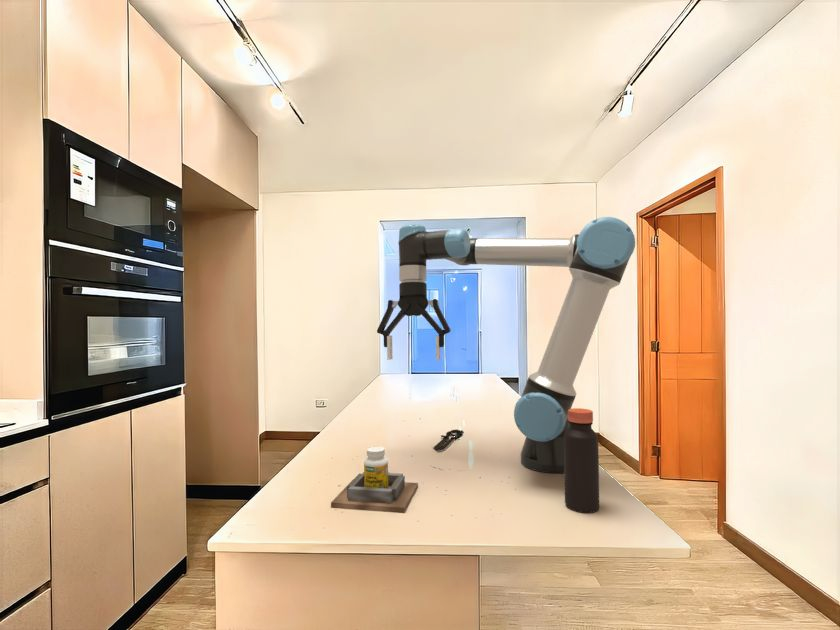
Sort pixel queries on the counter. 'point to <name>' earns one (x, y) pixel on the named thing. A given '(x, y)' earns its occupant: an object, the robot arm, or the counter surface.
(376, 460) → the supplement bottle
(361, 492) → the collar board
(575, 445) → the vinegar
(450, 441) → the knife
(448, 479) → the counter surface
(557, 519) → the counter surface
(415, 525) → the counter surface
